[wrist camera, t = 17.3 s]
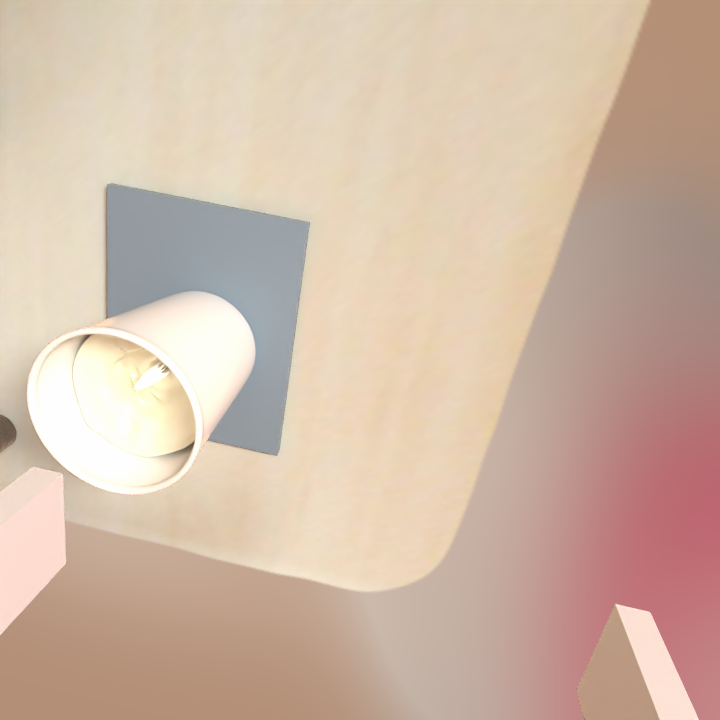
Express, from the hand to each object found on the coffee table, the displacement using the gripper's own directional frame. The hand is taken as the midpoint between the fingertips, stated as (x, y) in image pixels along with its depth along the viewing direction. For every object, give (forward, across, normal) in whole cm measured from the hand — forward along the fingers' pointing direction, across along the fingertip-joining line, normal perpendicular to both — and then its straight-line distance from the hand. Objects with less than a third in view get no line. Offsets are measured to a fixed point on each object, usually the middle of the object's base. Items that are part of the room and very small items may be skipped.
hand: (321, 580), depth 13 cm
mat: (+27, -14, -5) cm, 31 cm away
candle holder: (+26, -14, -6) cm, 30 cm away
